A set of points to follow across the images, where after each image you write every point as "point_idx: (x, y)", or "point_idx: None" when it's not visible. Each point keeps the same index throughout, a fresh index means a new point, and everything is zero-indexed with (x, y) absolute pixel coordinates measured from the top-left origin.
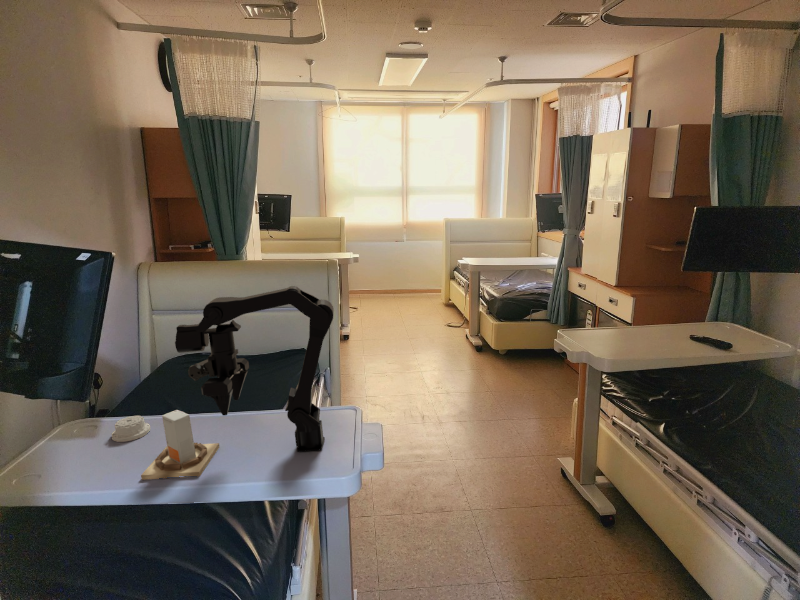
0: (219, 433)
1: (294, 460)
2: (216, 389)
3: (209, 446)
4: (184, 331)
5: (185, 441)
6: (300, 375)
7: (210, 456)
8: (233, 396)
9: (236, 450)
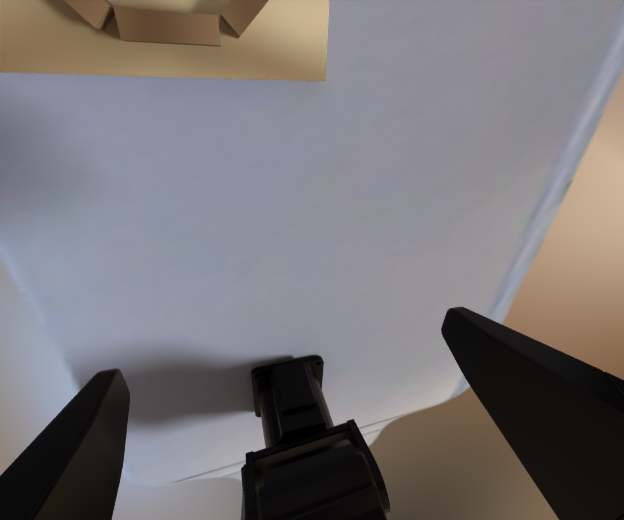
0: (461, 26)
1: (203, 377)
2: None
3: (297, 31)
4: None
5: None
6: None
7: (193, 77)
8: (474, 329)
9: (280, 177)
